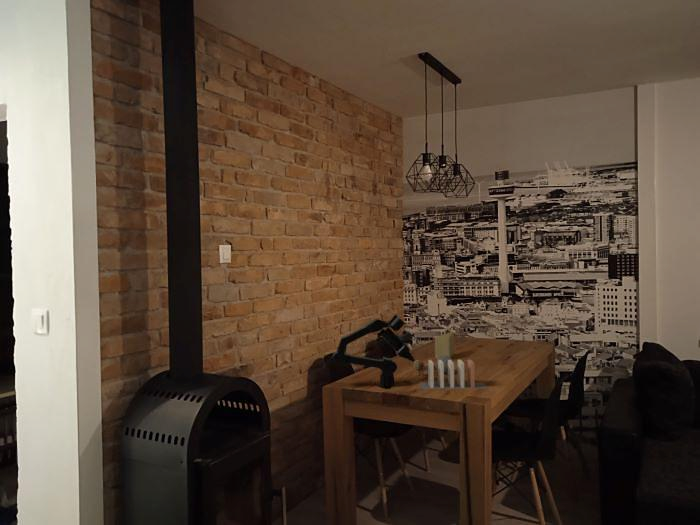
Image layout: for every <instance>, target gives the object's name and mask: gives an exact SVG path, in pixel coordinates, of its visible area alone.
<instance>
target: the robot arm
mask: <svg viewBox="0 0 700 525" xmlns="http://www.w3.org/2000/svg"><path fill="white" fill-rule="evenodd" d="M405 324H406V322H405V321H403V319H401V317H399V316H398V315H397V314H393V316H392V317H391V318H390V319H389V320H388V321H387V320H381V319H380V318H378V317H376V318H373V319H372V320H371V321H370V322H369V321H368V323H367V324H366V325H364V326H363V327H360V328H359V329H357V330H355V331H353V332H351V333H349V334H346V335H344V336H341V338H340V339H339V340H340V341H339V343H338V346H337V348H336V349H337V350H336V351H334V353H333V354H332V359H333V362H334V363H335V364H336V365H348V364H349V365H350V364H352V365H358V366H364V367H369V368H370V367H371V368H376V369H380V372H381V374H379V385H377V386H378V387H379V388H382V389H386V390H387V389H391V388H395V376H394V373H395V372H396V371H397V370H398V365H397V362H396V361H395V360H394V359H392V358H391V357H385V356H382V359H375V358H370V357H365V356H358V355H352V354H350V353H348V352H347V351H346V350H347V348H348V344H351V343H352V342H354V341H356V340H358V339H360V338H363V337H364V336H366V335H369V334H374V333H376V336H377V337H376V338H377V339H380V338H383V340H385V342H387V344H388V345H389V346H391V347H392V349H394V351H395V352H396V354H397V356H398V357H399V358H403V359H406V360H408V361H411V362H413V363H414V362H415V361H416V360H415V358H414V356H413V354H412V353H411V352H410V347H409V346H408V344H407V341H409V340H412V339H413V336H412V334H411V332H410V331H406V330H403V331H402V333H401V335H398V334H396V333H395V332H399V331H400V329H402V327H404V325H405ZM391 329H392V330H391Z"/></svg>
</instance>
